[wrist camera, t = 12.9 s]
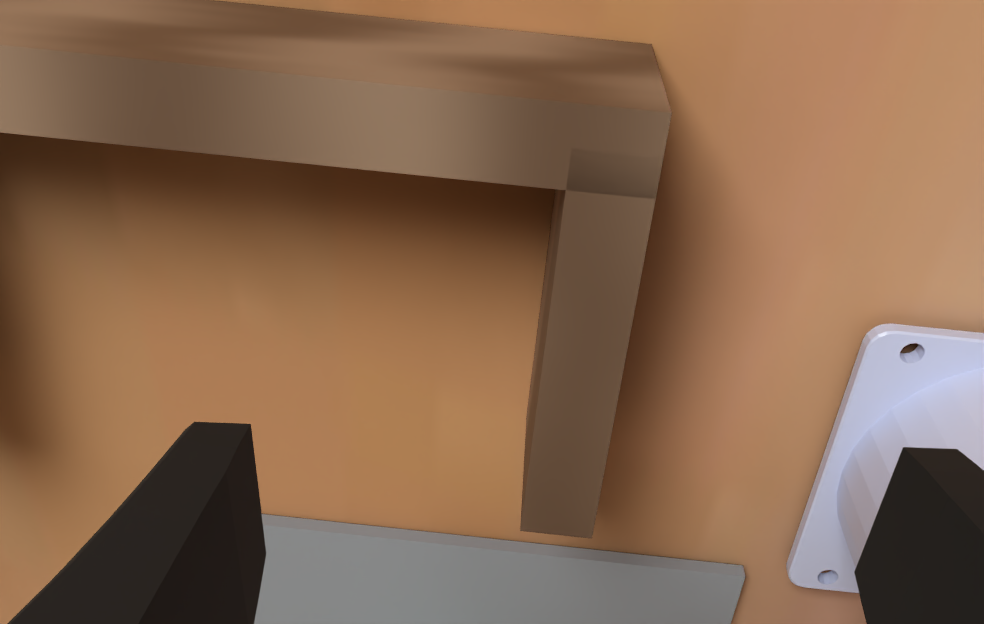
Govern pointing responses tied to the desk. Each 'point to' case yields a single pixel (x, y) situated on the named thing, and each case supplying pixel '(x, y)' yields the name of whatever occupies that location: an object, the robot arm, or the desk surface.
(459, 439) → the desk surface
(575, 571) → the slate mat
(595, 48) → the walnut cubby
